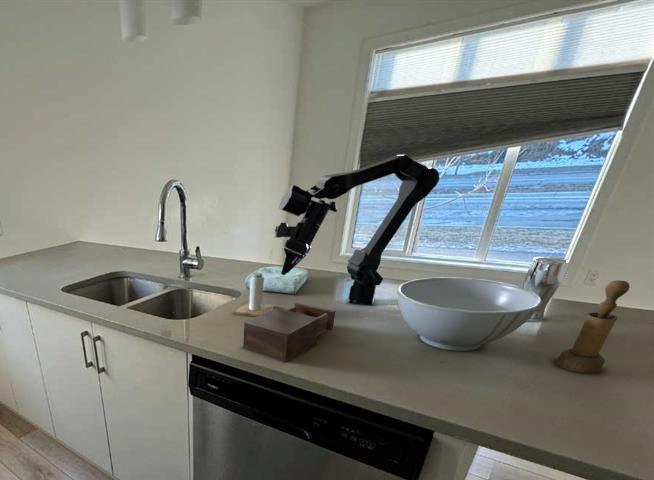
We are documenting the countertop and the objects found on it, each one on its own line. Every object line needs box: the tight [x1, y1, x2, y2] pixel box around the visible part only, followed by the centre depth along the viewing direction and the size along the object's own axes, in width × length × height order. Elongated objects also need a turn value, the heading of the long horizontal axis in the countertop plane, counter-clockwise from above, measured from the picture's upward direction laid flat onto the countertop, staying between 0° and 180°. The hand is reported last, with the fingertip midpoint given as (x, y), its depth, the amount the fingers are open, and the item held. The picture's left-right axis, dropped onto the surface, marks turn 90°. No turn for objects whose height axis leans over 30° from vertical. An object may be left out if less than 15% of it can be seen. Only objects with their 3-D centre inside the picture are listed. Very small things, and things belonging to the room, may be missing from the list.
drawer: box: [286, 302, 336, 336], centre depth 108 cm, size 14×11×5 cm
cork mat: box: [233, 301, 276, 317], centre depth 128 cm, size 10×10×1 cm
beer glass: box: [522, 256, 570, 322], centre depth 103 cm, size 7×7×15 cm
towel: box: [244, 265, 309, 295], centre depth 148 cm, size 18×21×5 cm
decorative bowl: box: [396, 276, 542, 352], centre depth 96 cm, size 27×27×12 cm
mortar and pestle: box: [556, 279, 631, 374], centre depth 80 cm, size 7×6×18 cm
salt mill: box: [248, 272, 264, 310], centre depth 125 cm, size 4×4×11 cm
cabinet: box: [242, 307, 319, 362], centre depth 103 cm, size 14×13×7 cm
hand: (284, 273), depth 123 cm, fingers open, 9 cm apart
